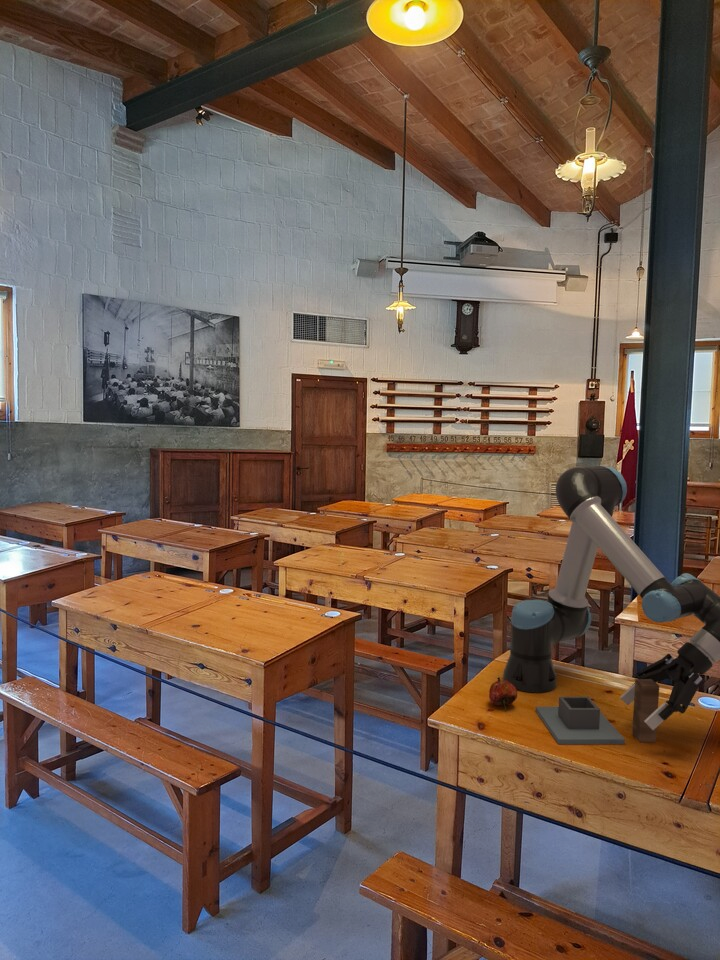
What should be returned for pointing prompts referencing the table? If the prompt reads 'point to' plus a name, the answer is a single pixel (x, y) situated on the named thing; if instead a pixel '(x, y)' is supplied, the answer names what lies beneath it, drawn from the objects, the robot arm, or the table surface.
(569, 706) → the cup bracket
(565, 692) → the table surface
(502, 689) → the pomegranate
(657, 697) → the walnut rail post
